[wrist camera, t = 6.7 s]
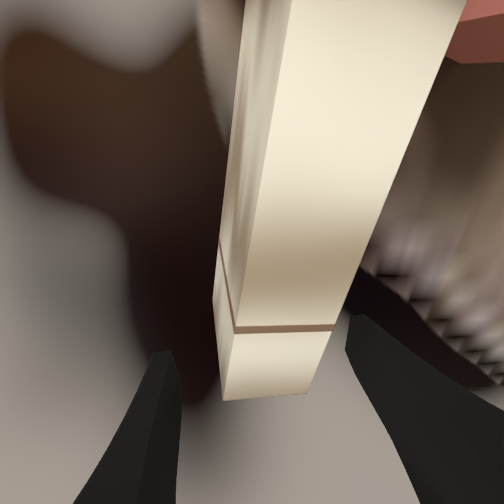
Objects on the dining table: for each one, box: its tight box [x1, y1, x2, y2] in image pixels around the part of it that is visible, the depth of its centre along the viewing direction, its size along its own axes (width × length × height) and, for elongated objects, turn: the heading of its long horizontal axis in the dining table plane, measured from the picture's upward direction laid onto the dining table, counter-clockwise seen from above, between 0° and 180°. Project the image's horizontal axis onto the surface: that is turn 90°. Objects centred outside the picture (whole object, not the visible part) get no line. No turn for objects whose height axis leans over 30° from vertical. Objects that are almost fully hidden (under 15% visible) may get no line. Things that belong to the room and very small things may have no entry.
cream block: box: [213, 0, 467, 401], centre depth 10 cm, size 12×3×6 cm, turn 171°
